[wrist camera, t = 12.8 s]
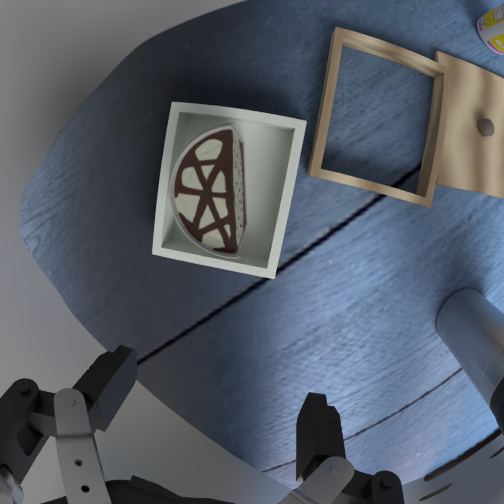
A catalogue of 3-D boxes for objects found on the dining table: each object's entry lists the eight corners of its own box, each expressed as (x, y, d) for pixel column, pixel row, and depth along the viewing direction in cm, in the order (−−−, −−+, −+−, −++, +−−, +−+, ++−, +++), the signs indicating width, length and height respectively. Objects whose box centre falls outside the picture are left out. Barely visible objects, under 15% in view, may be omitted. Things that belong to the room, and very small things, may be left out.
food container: (191, 133, 33) (159, 126, 23) (243, 129, 32) (230, 118, 23) (196, 236, 37) (169, 264, 27) (247, 235, 36) (236, 264, 27)
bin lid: (510, 84, 26) (519, 83, 24) (509, 199, 32) (517, 202, 30) (433, 52, 27) (441, 48, 25) (433, 183, 33) (441, 185, 30)
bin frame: (440, 74, 28) (451, 69, 25) (419, 203, 34) (430, 208, 31) (331, 35, 28) (335, 26, 25) (306, 174, 34) (309, 175, 31)
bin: (302, 125, 32) (306, 121, 28) (274, 264, 37) (274, 279, 33) (184, 107, 32) (172, 101, 28) (165, 242, 38) (152, 254, 33)
